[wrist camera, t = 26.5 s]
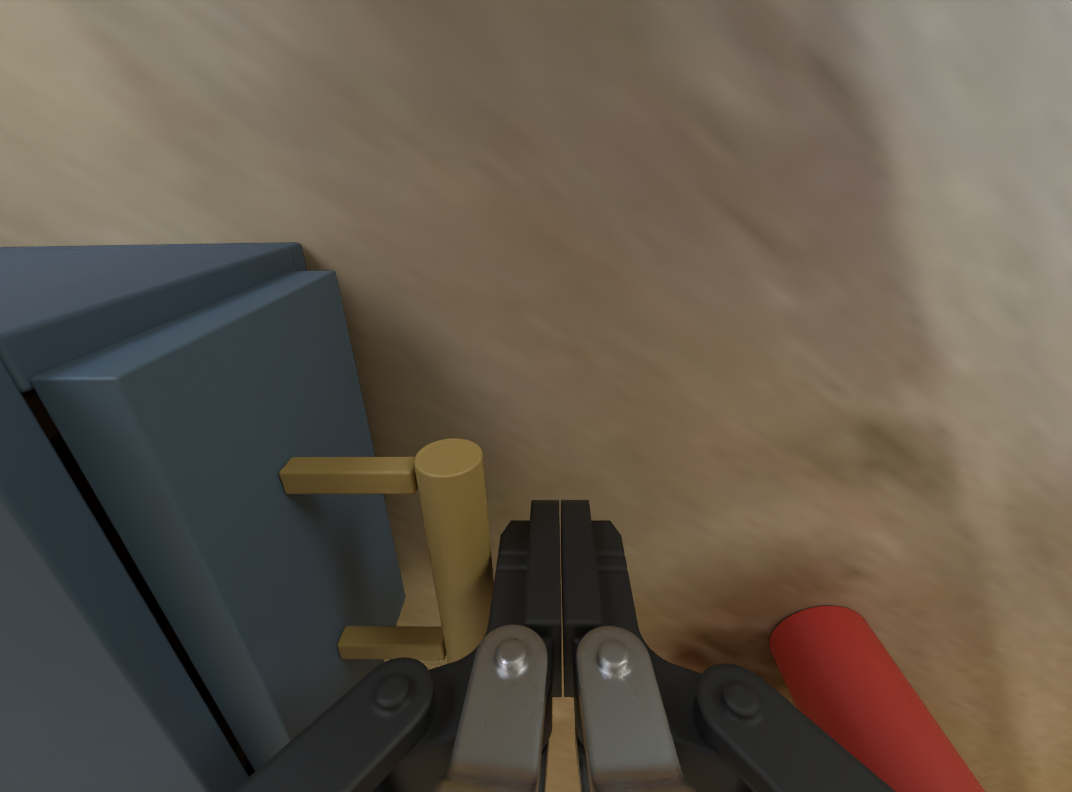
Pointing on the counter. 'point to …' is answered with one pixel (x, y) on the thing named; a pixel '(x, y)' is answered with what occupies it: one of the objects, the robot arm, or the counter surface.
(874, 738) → the pepper mill
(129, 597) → the cabinet
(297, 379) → the drawer
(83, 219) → the counter surface
